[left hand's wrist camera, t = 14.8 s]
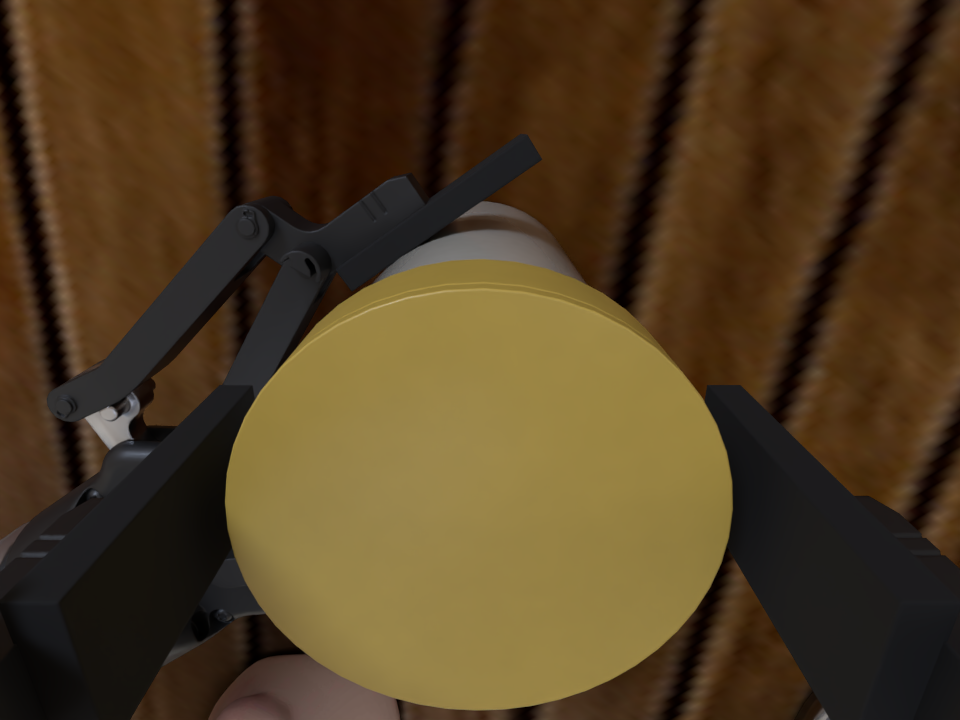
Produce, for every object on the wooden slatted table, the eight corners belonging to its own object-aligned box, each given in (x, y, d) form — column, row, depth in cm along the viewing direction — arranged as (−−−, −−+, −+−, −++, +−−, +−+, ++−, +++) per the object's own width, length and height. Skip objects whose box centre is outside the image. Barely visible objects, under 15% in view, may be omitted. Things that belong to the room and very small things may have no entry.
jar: (560, 388, 27) (652, 677, 13) (384, 377, 26) (276, 658, 12) (585, 208, 24) (740, 323, 10) (387, 194, 23) (246, 289, 9)
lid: (780, 401, 12) (844, 458, 10) (539, 675, 15) (549, 766, 13) (390, 162, 10) (367, 170, 8) (203, 525, 13) (151, 601, 11)
